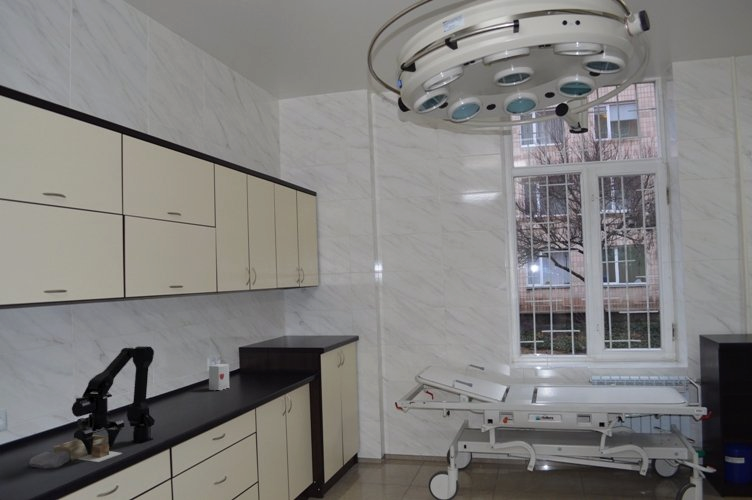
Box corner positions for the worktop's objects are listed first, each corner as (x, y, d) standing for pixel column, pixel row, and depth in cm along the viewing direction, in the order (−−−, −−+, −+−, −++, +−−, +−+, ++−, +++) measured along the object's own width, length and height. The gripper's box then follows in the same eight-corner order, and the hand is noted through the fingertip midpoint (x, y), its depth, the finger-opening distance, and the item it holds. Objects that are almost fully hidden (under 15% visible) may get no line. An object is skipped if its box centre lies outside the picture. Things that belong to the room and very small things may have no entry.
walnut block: (100, 453, 225) (100, 443, 225) (109, 454, 223) (109, 444, 223) (91, 456, 222) (91, 446, 222) (100, 457, 219) (100, 447, 220)
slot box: (92, 445, 238) (92, 434, 238) (109, 447, 234) (109, 436, 234) (54, 458, 223) (53, 446, 223) (71, 460, 218) (71, 448, 218)
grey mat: (102, 451, 230) (102, 450, 230) (122, 453, 225) (122, 452, 225) (77, 459, 220) (77, 458, 220) (97, 462, 215) (97, 461, 215)
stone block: (55, 473, 210) (72, 459, 220) (53, 461, 209) (70, 447, 219) (25, 474, 211) (43, 460, 221) (23, 462, 210) (41, 449, 220)
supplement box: (218, 391, 348) (218, 366, 349) (208, 390, 353) (208, 365, 354) (230, 388, 356) (229, 364, 357) (220, 387, 361) (219, 363, 362)
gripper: (105, 404, 235) (106, 442, 234) (63, 414, 218) (64, 456, 217) (124, 405, 230) (125, 445, 230) (83, 416, 213) (84, 459, 213)
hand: (100, 451), depth 222 cm, fingers open, 9 cm apart
